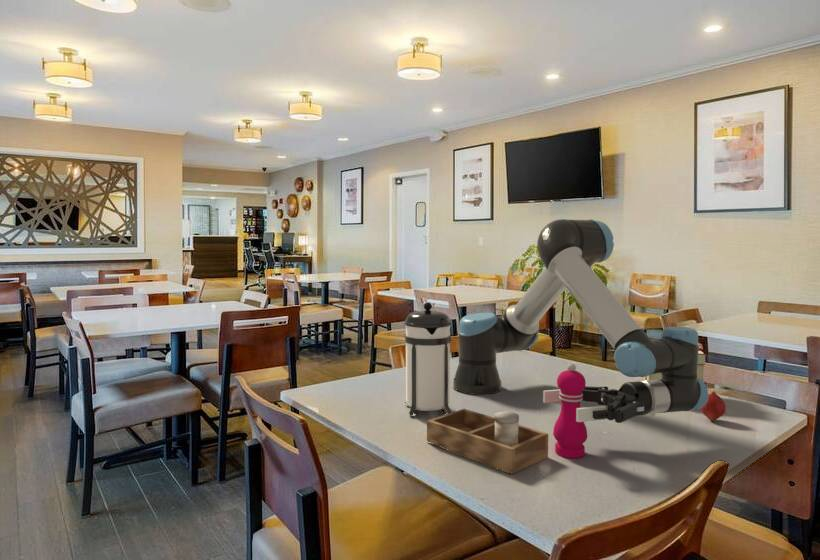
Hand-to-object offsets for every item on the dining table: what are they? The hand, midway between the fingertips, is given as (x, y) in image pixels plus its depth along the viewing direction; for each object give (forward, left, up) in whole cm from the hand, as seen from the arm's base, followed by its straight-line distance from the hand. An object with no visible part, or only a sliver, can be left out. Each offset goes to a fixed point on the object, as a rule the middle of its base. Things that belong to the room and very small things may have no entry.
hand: (559, 405), depth 119 cm
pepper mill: (+1, +3, -11) cm, 11 cm away
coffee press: (-43, +2, -11) cm, 44 cm away
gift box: (-2, +64, -11) cm, 65 cm away
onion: (+15, +49, -11) cm, 52 cm away
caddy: (-13, -9, -11) cm, 19 cm away
